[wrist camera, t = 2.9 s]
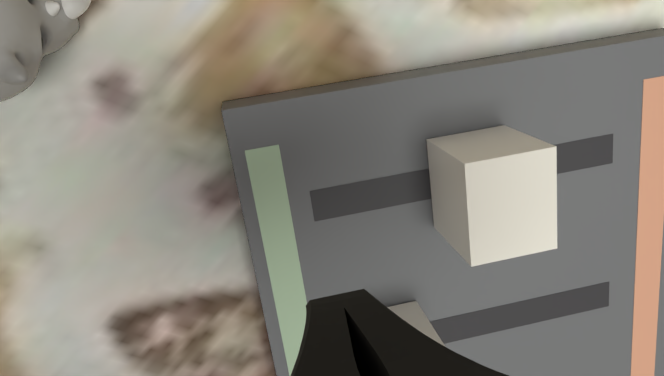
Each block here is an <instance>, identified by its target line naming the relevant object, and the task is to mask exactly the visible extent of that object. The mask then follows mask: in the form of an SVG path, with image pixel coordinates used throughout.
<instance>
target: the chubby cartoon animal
mask: <svg viewBox="0 0 664 376" xmlns="http://www.w3.org/2000/svg"><path fill="white" fill-rule="evenodd" d="M90 3H91V0H0V102H1V101H4V100H7V99H9V98H12V97H14V96H16V95H18V94H19V93H21V92H23V91H24V90H25V89H27V88H28V87H29V86H30V85H31V84H32V83H33V82H34V80H35V78H36V76H37V74H38V71H39V67H40V63H41V60H42V58H43V56H44V55H47V54H50V53H53V52H55V51H57V50H59V49H61V48H62V47H63V46H64V45H65V44H66V43H67V42H68V41H69V40H70V38H71V37H72V36H73V35H74V34H76V33H77V32H78V30H79V21H78V19H77V17H79V16H80V15H82V14H83V13H84V12H85V11H86V10H87V9H88V7H89V6H90Z"/></svg>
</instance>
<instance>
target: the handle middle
mask: <svg viewBox="0 0 664 376" xmlns="http://www.w3.org/2000/svg"><path fill="white" fill-rule="evenodd" d="M387 308H389V309H390V310H391V311H393V312H394V313H395V314H396V315H398V316H399V317H400V318H402V319H403V320H405V321H406V322H407V323H409V324H410V325H412V326H413V327H414V328H416V329H417V330H419V331H420V332H422V333H423V334H425V335H426V336H428V337H430V338H431V339H433V340H435V341H436V342H438V343H440V344H441V345H443V346H445V345H444V344H443V342H442V341H441V339H440V337H439V336H438V334H437V333H436V331H435V330H434V328H433V326H432V325H431V323H430V322H429V320H428V319H427V317H426V315H425V314H424V312H423V311H422V309H421V308H420V306H419V304H418V303H417V301H413V302H408V303H404V304H399V305H395V306H390V307H387Z"/></svg>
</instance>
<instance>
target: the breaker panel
mask: <svg viewBox="0 0 664 376" xmlns="http://www.w3.org/2000/svg"><path fill="white" fill-rule="evenodd" d="M221 112H222V116H223V121H224V126H225V131H226V135H227V140H228V145H229V150H230V155H231V159H232V164H233V169H234V174H235V179H236V183H237V188H238V193H239V198H240V203H241V207H242V212H243V217H244V222H245V227H246V231H247V236H248V241H249V246H250V251H251V255H252V260H253V265H254V270H255V274H256V279H257V284H258V289H259V294H260V298H261V303H262V308H263V313H264V318H265V322H266V327H267V332H268V337H269V342H270V346H271V351H272V356H273V361H274V366H275V370H276V375H277V376H291V373H292V370H293V368H294V365H295V362H296V359H297V356H298V353H299V349H300V346H301V342H302V338H303V334H304V329H305V323H306V305H307V303H308V302H309V301H310V300H313V299H317V298H322V297H327V296H332V295H336V294H341V293H346V292H351V291H356V290H360V289H365V290H366V291H368V292H369V293H370V294H371V295H373V296H374V297H375V298H376V299H378V300H379V301H380V302H381V303H382V304H384V305H385V306H386V307H390V306H395V305H399V304H404V303H408V302H413V301H417V303H418V304H419V306H420V308H421V309H422V311H423V312H424V314H425V315H426V317H427V319H428V320H429V322H430V323H431V325H432V326H433V328H434V330H435V331H436V333H437V334H438V336H439V337H440V339H441V341H442V342H443V344H444V345H445V347H447V348H448V349H450V350H452V351H454V352H456V353H458V354H460V355H462V356H464V357H466V358H468V359H470V360H473V361H475V362H477V363H479V364H481V365H483V366H486V367H488V368H490V369H493V370H495V371H498V372H500V373H503V374H506V375H509V376H664V28H661V29H655V30H649V31H643V32H637V33H631V34H625V35H619V36H613V37H607V38H601V39H595V40H589V41H583V42H577V43H571V44H565V45H559V46H553V47H547V48H541V49H535V50H530V51H524V52H518V53H512V54H506V55H500V56H494V57H488V58H482V59H476V60H470V61H464V62H458V63H452V64H446V65H440V66H434V67H428V68H422V69H416V70H410V71H404V72H398V73H392V74H386V75H380V76H374V77H368V78H362V79H356V80H350V81H344V82H338V83H332V84H326V85H320V86H314V87H308V88H302V89H296V90H290V91H284V92H278V93H272V94H266V95H260V96H254V97H248V98H242V99H236V100H230V101H224V102H222V109H221ZM502 125H505V126H507V127H510V128H512V129H515V130H517V131H520V132H522V133H525V134H527V135H530V136H532V137H534V138H537V139H539V140H542V141H544V142H547V143H549V144H552V145H554V146H557V249H552V250H548V251H543V252H538V253H534V254H529V255H524V256H520V257H515V258H510V259H506V260H501V261H496V262H491V263H487V264H482V265H477V266H473V267H471V266H470V265H469V264H468V263H467V262H466V261H465V260H464V259H463V257H462V256H461V255H460V254H459V253H458V252H457V251H456V250H455V249H454V248H453V247H452V246H451V245H450V244H449V243H448V242H447V240H446V239H445V238H444V237H443V236H442V235H441V234H440V233H439V232H438V231H437V230H436V229H435V228H434V220H433V209H432V197H431V186H430V174H429V163H428V151H427V140H426V139H431V138H436V137H442V136H447V135H453V134H458V133H464V132H469V131H475V130H480V129H486V128H491V127H497V126H502Z"/></svg>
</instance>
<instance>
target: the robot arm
mask: <svg viewBox="0 0 664 376" xmlns="http://www.w3.org/2000/svg"><path fill="white" fill-rule="evenodd" d="M291 376H509V375H506V374H503V373H500V372H498V371H495V370H493V369H490V368H488V367H486V366H483V365H481V364H479V363H477V362H475V361H473V360H470V359H468V358H466V357H464V356H462V355H460V354H458V353H456V352H454V351H452V350H450V349H448V348H447V347H445V346H443V345H441V344H440V343H438V342H436V341H435V340H433V339H431V338H430V337H428V336H426V335H425V334H423V333H422V332H420V331H419V330H417V329H416V328H414V327H413V326H412V325H410V324H409V323H407V322H406V321H405V320H403V319H402V318H400V317H399V316H398V315H396V314H395V313H394V312H393V311H391V310H390V309H389V308H387V307H386V306H385V305H384V304H382V303H381V302H380V301H379V300H378V299H376V298H375V297H374V296H373V295H371V294H370V293H369V292H368V291H366V290H365V289H360V290H356V291H351V292H346V293H341V294H336V295H332V296H327V297H322V298H317V299H313V300H310V301H309V302H308V303H307V305H306V323H305V329H304V334H303V338H302V342H301V346H300V349H299V353H298V356H297V359H296V362H295V365H294V368H293V370H292V373H291Z"/></svg>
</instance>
